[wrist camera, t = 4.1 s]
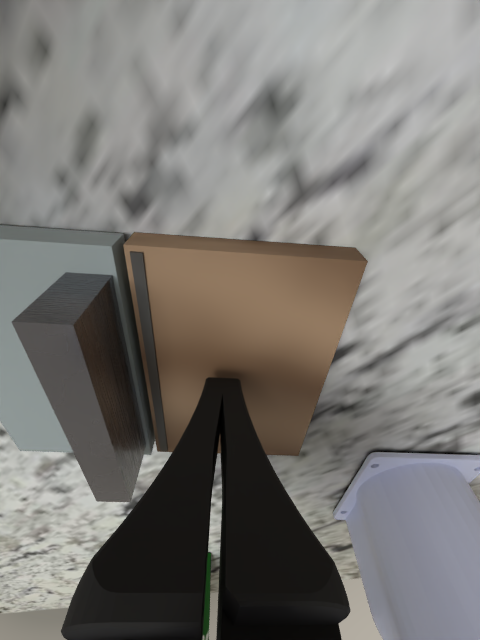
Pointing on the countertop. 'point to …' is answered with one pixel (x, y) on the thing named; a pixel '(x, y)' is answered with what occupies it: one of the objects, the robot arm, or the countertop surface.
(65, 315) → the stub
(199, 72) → the countertop surface
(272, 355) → the board
